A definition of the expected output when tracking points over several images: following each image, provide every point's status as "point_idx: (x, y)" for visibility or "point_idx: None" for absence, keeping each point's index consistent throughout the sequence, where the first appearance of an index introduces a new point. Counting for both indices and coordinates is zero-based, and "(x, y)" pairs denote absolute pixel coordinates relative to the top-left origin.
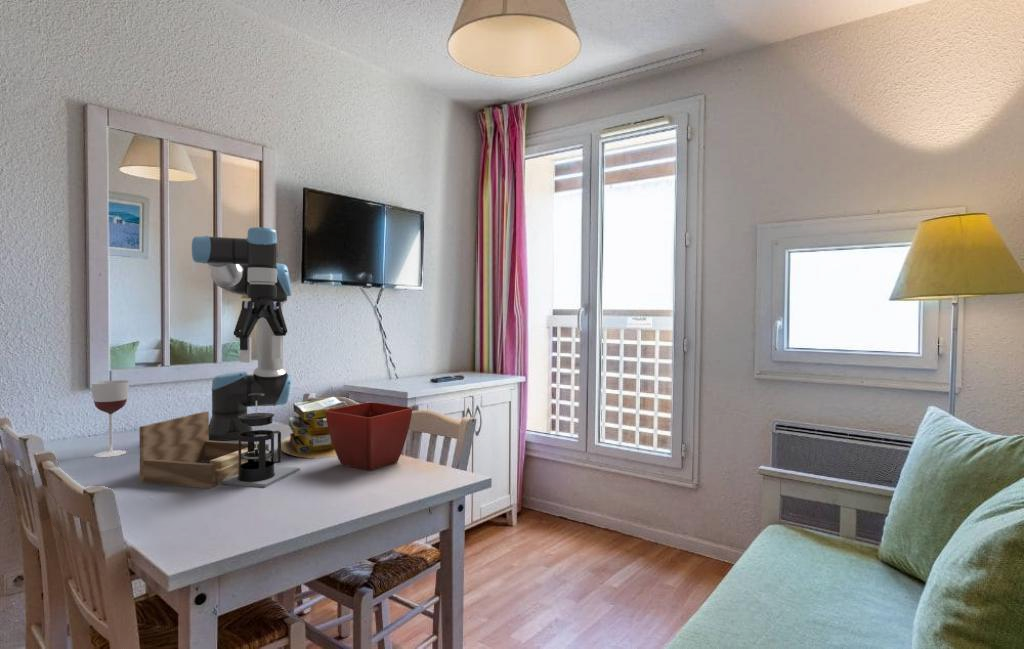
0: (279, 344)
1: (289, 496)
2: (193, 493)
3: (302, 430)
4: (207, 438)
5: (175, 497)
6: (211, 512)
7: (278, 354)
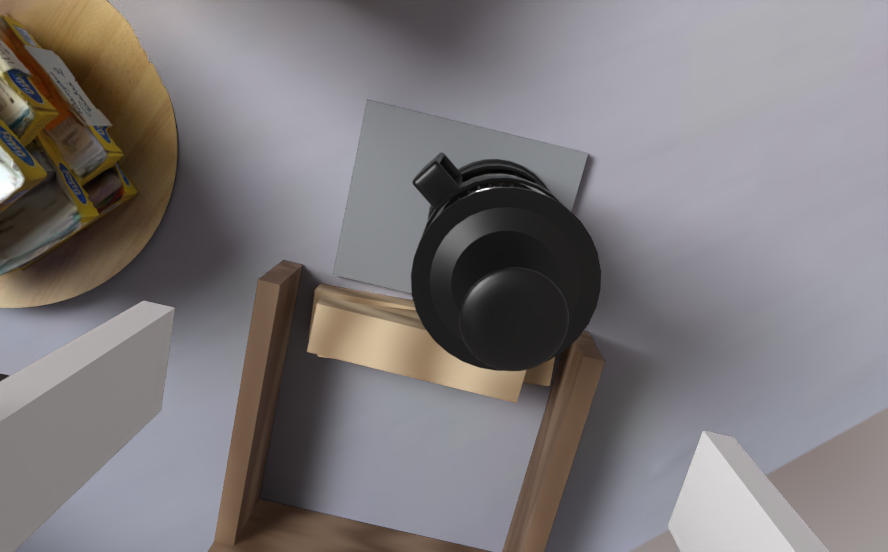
0: (70, 391)
1: (699, 19)
2: (638, 362)
3: (71, 183)
4: (217, 548)
5: (675, 395)
6: (836, 220)
7: (146, 350)
